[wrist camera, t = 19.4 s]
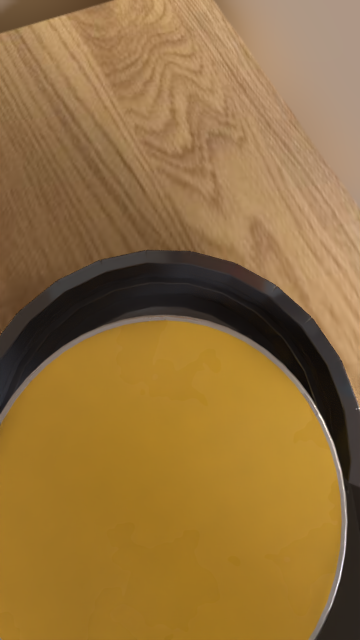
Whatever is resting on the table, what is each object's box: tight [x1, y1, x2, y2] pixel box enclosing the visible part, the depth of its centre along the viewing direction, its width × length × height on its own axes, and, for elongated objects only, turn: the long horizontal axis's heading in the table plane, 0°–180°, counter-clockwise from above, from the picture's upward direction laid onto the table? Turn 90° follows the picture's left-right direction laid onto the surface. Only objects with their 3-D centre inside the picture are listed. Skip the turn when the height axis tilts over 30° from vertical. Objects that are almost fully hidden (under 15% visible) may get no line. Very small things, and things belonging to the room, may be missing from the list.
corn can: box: [0, 315, 348, 640], centre depth 12 cm, size 6×6×13 cm
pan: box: [0, 250, 360, 487], centre depth 16 cm, size 19×19×4 cm
